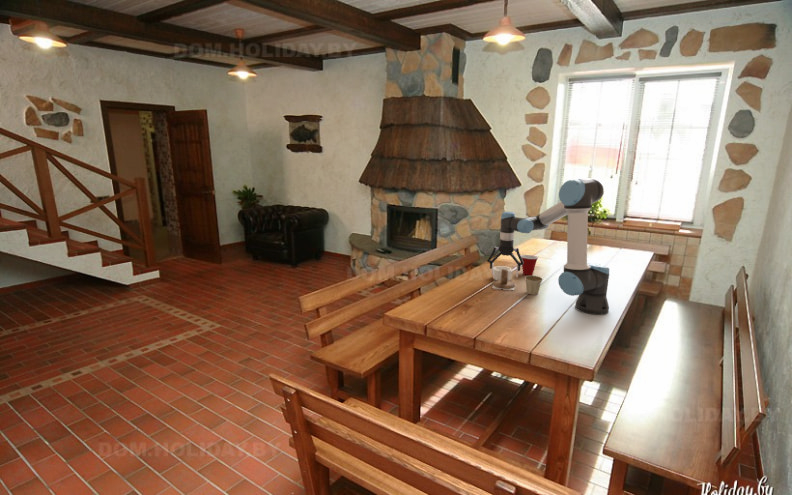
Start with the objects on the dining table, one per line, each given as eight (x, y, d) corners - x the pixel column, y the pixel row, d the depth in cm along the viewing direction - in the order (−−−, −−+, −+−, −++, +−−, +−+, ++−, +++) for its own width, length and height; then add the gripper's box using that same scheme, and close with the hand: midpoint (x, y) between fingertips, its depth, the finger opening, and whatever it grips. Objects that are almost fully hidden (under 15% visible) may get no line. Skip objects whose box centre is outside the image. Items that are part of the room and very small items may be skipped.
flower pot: (544, 292, 230) (545, 278, 228) (536, 297, 224) (538, 282, 221) (528, 289, 236) (529, 274, 234) (520, 293, 230) (521, 278, 228)
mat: (515, 284, 245) (515, 283, 245) (514, 290, 234) (514, 289, 234) (494, 282, 248) (494, 281, 248) (492, 288, 237) (492, 287, 237)
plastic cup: (539, 273, 264) (540, 255, 262) (534, 278, 256) (535, 259, 253) (522, 270, 270) (523, 253, 267) (516, 275, 262) (518, 256, 259)
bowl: (511, 277, 258) (511, 266, 256) (510, 282, 248) (511, 271, 247) (494, 275, 261) (494, 265, 259) (492, 280, 251) (493, 270, 250)
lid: (515, 283, 245) (516, 268, 242) (514, 289, 234) (515, 274, 231) (494, 281, 248) (495, 266, 246) (492, 287, 237) (493, 272, 235)
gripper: (530, 239, 234) (527, 275, 239) (484, 236, 241) (483, 271, 247) (529, 242, 227) (527, 279, 232) (483, 239, 235) (481, 275, 240)
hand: (504, 275), depth 239 cm, fingers open, 13 cm apart
